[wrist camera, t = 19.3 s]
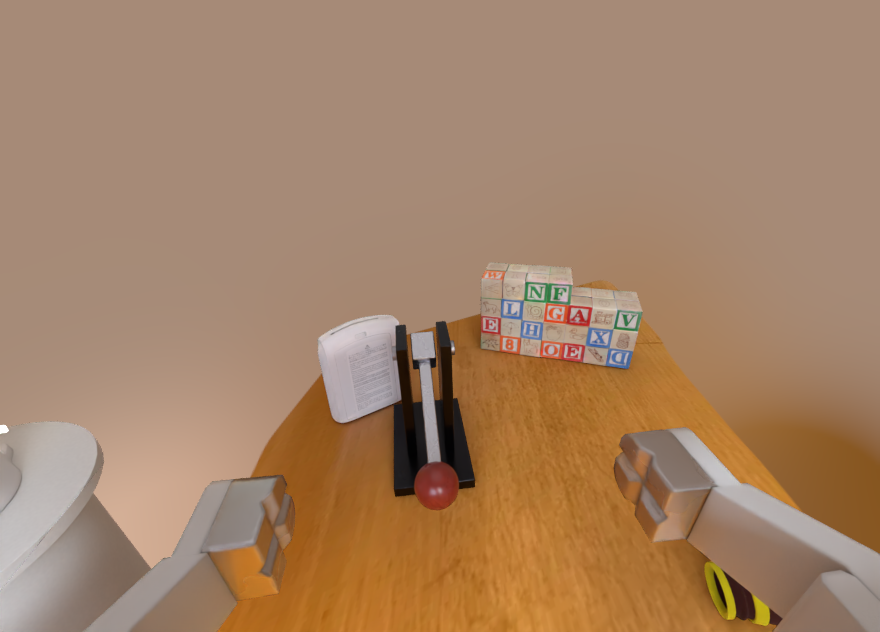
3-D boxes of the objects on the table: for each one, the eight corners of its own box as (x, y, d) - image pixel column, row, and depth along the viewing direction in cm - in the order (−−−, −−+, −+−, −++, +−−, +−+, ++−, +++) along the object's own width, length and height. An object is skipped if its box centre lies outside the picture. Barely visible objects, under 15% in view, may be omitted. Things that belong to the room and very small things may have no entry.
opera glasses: (683, 512, 36) (685, 475, 33) (752, 520, 34) (759, 481, 32) (715, 633, 28) (721, 595, 25) (808, 652, 26) (823, 612, 23)
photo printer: (399, 380, 53) (390, 302, 47) (413, 397, 50) (405, 316, 44) (327, 409, 49) (307, 326, 43) (338, 430, 45) (317, 344, 39)
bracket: (475, 487, 38) (475, 369, 31) (395, 497, 37) (376, 378, 30) (457, 405, 48) (455, 302, 41) (394, 411, 48) (381, 308, 40)
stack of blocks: (624, 346, 58) (642, 272, 52) (629, 370, 53) (649, 291, 47) (487, 329, 64) (489, 260, 58) (479, 349, 59) (480, 276, 53)
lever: (460, 508, 31) (463, 505, 28) (416, 514, 31) (415, 511, 28) (439, 344, 39) (440, 327, 36) (404, 347, 39) (402, 330, 35)
